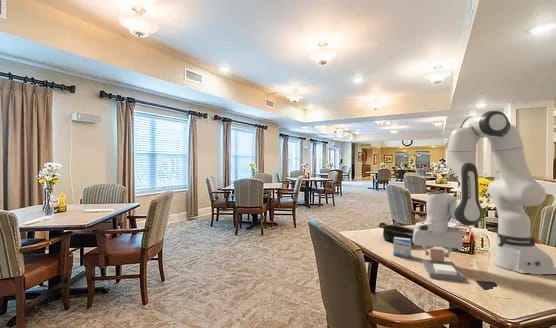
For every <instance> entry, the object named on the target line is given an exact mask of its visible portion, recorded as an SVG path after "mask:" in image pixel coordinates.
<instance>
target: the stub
mask: <svg viewBox="0 0 556 328" xmlns="http://www.w3.org/2000/svg"><path fill="white" fill-rule="evenodd" d="M444 252H445V251H444V250H443V249H442V248H440V247H429V257H430V260H439V261H445V256H444V255H445V254H444Z"/></svg>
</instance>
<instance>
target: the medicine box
mask: <svg viewBox="0 0 556 328" xmlns="http://www.w3.org/2000/svg"><path fill="white" fill-rule="evenodd" d="M392 253H393V254H392V255H393V256H394V257H399V258H400V257H402V258H406V259H407V258H408V259H411V256H412V243H411V239H408V238H400V237H394V240H393V251H392Z"/></svg>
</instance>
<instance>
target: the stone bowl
mask: <svg viewBox="0 0 556 328" xmlns="http://www.w3.org/2000/svg"><path fill="white" fill-rule="evenodd" d="M377 227H379V228H381V229H383V231H382V237H383V240H384V241H385V240H386V241H391V242H394V237H400V238H408V239H411V244H414V243H413V232H414V230H415V229H416V228H412V227H408V226H403V225H399V224H386V223H385V222H380V223H379V225H377Z"/></svg>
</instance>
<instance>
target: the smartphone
mask: <svg viewBox="0 0 556 328" xmlns="http://www.w3.org/2000/svg"><path fill="white" fill-rule="evenodd" d="M475 281H476V282H477V283H476V282H475V283H476V284H477V285H478V287H480V288H481V289H482V290H483V289H484V290H489V289H493V287H497V285H498V284H497V282H494V281H486V280H479V279H478V280H475ZM484 290H483V291H484Z"/></svg>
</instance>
